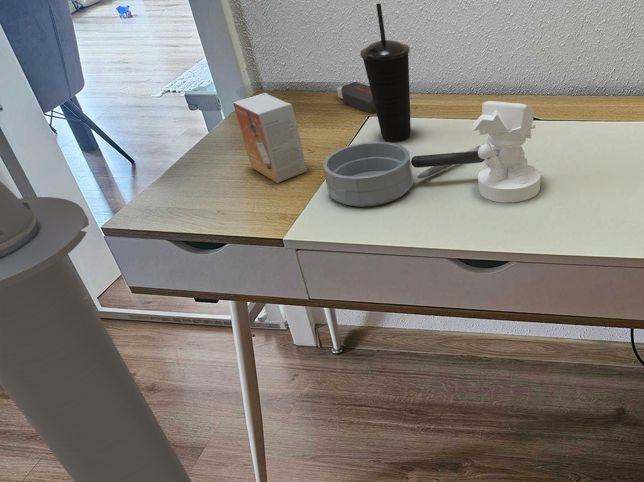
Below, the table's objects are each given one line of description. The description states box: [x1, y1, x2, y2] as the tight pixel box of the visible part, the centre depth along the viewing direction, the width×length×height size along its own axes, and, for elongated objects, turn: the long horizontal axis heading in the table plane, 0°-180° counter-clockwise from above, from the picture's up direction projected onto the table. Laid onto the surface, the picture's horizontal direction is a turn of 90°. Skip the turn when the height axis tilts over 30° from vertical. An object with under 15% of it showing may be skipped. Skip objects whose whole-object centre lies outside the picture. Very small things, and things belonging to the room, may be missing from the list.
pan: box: [322, 141, 414, 208], centre depth 89 cm, size 12×12×4 cm
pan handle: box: [410, 151, 485, 169], centre depth 89 cm, size 11×2×2 cm, turn 93°
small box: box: [232, 92, 308, 184], centre depth 94 cm, size 8×6×10 cm
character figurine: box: [472, 100, 541, 204], centre depth 85 cm, size 9×10×12 cm
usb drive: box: [336, 81, 376, 114], centre depth 118 cm, size 5×12×3 cm, turn 43°
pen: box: [416, 144, 482, 180], centre depth 94 cm, size 1×14×1 cm, turn 135°
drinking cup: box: [359, 2, 412, 143], centre depth 99 cm, size 8×8×20 cm
